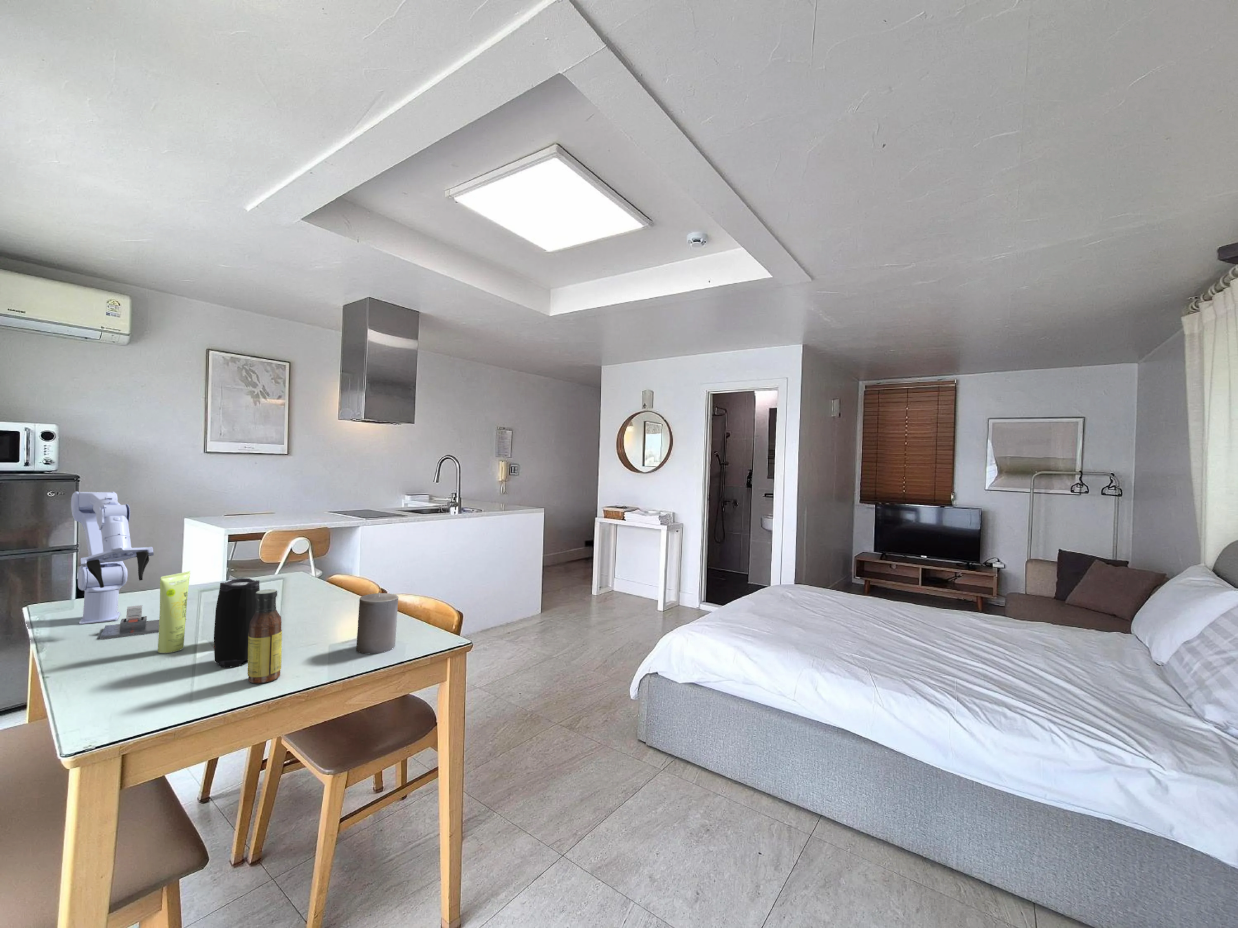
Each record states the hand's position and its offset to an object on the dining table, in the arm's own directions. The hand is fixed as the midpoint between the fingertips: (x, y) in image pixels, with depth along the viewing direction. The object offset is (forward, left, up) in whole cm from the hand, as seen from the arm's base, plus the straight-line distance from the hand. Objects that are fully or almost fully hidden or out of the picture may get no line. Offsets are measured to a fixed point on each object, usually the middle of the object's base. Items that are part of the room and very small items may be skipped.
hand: (121, 582), depth 139 cm
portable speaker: (+42, +23, -14) cm, 50 cm away
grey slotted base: (-2, +3, -14) cm, 15 cm away
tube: (+24, +11, -14) cm, 30 cm away
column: (-2, +3, -14) cm, 15 cm away
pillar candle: (+50, +53, -14) cm, 74 cm away
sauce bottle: (+58, +27, -14) cm, 65 cm away
